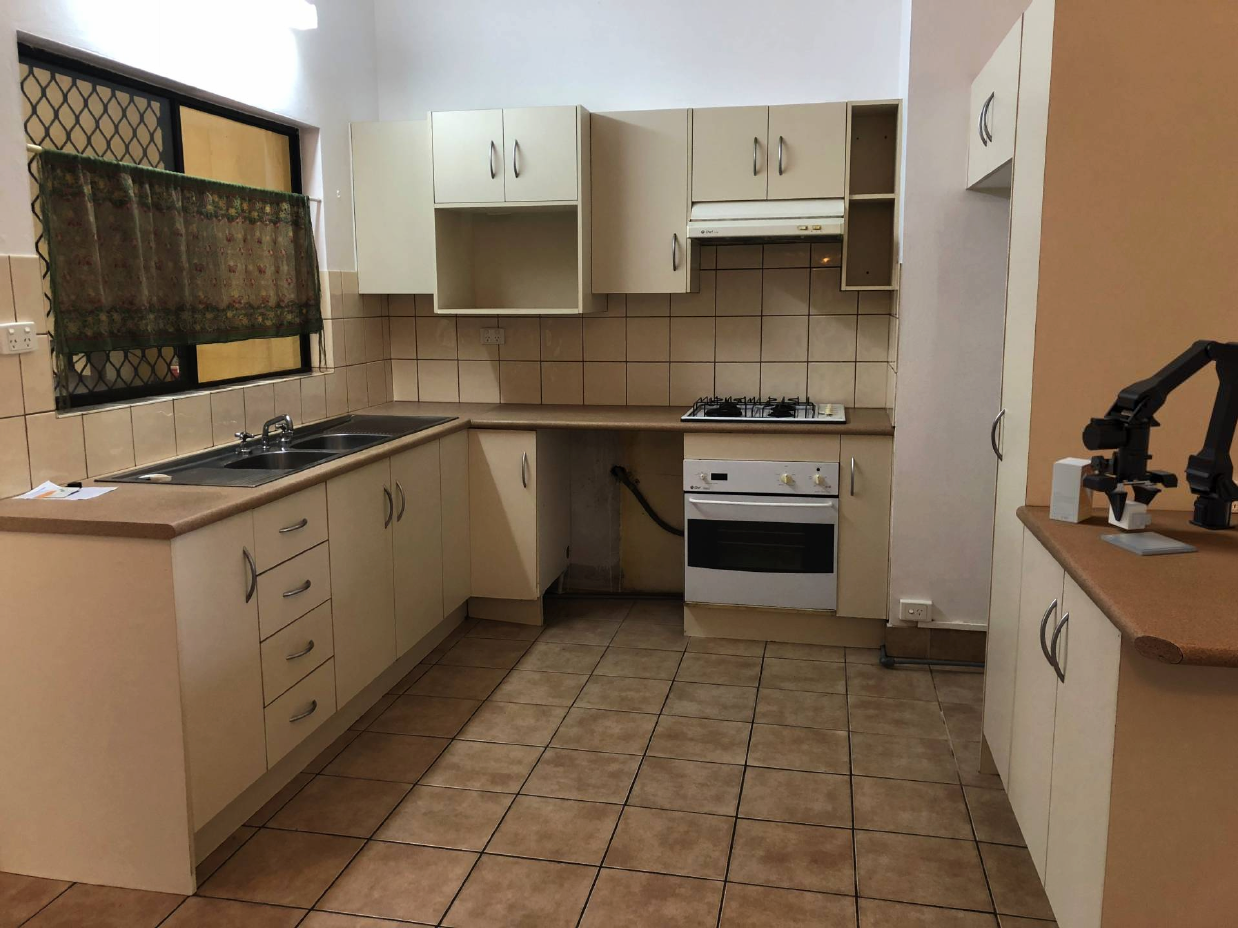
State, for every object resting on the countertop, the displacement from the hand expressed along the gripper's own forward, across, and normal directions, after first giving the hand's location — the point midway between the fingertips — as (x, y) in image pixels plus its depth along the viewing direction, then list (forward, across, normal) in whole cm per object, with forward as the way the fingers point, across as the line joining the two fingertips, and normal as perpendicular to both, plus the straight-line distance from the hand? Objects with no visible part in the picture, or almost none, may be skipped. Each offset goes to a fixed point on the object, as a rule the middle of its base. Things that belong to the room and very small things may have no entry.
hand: (1126, 520), depth 210 cm
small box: (+3, +4, -13) cm, 14 cm away
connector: (+1, 0, +1) cm, 2 cm away
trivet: (+2, +3, +10) cm, 11 cm away
